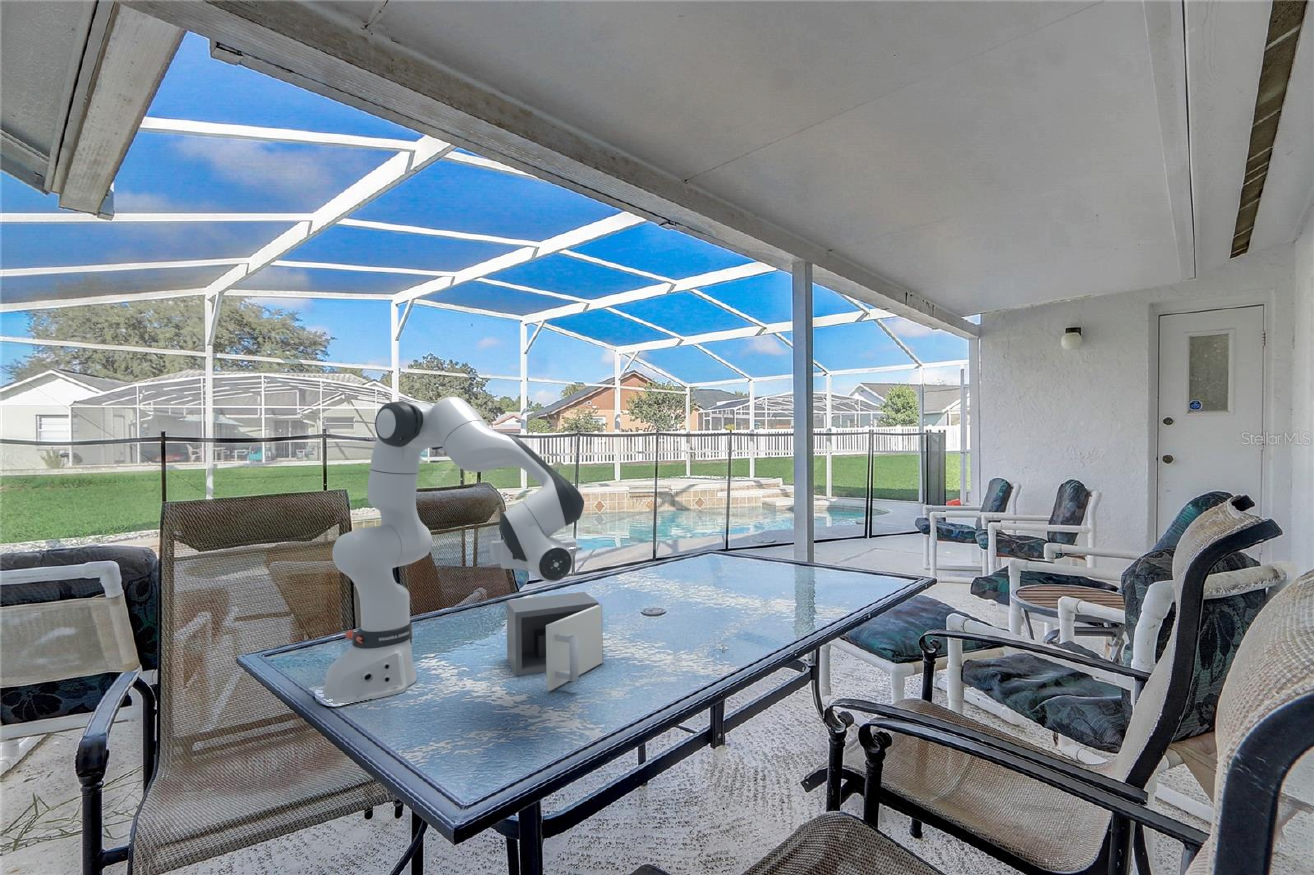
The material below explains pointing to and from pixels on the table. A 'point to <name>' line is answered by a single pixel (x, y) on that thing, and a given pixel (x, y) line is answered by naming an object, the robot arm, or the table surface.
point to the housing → (537, 627)
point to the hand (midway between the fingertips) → (528, 543)
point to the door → (573, 646)
